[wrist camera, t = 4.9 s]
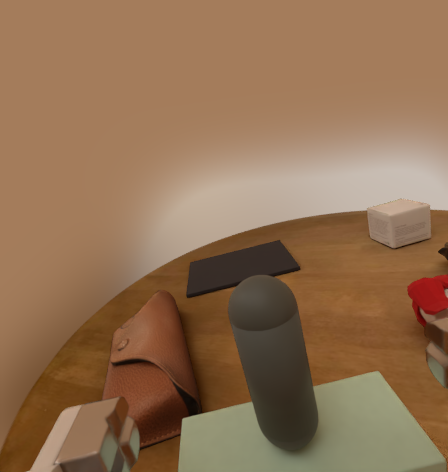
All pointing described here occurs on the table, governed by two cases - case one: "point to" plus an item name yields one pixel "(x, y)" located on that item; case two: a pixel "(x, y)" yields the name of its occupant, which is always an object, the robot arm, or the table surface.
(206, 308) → the table surface
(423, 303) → the figurine
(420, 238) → the small box
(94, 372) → the table surface
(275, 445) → the green flask block
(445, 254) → the dark brown pointed lump
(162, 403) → the sunglasses case
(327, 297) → the table surface
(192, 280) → the mat
